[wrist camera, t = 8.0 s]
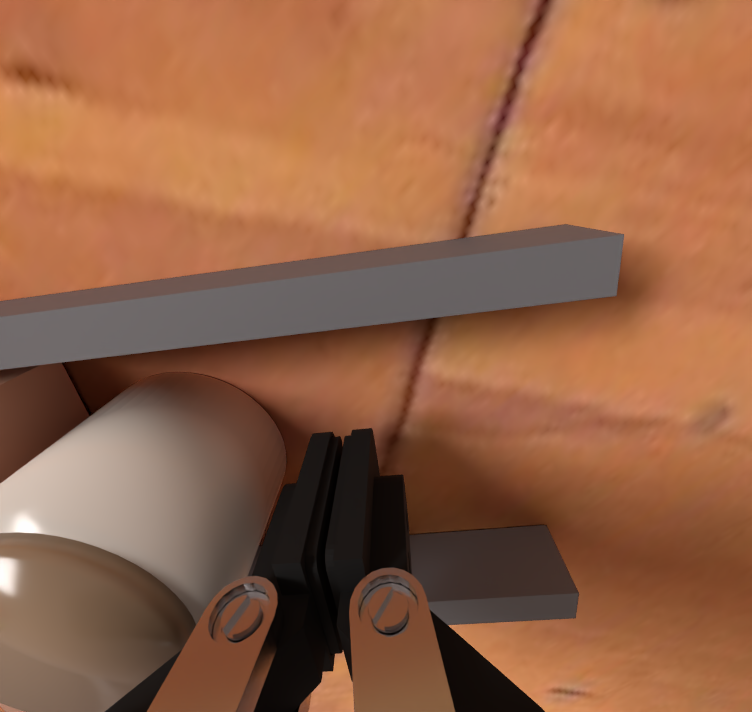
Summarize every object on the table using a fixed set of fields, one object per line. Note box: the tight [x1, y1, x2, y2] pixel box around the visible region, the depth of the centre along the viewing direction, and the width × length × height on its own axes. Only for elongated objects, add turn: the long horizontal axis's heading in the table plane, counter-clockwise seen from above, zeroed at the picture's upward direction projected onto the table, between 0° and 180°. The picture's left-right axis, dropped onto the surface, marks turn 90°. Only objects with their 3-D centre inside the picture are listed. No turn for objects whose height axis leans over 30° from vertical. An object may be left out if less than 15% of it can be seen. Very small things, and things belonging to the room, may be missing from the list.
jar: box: [0, 372, 287, 712], centre depth 10 cm, size 6×6×6 cm
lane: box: [0, 224, 624, 625], centre depth 10 cm, size 20×12×5 cm, turn 98°
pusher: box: [0, 363, 90, 712], centre depth 10 cm, size 1×8×5 cm, turn 8°
